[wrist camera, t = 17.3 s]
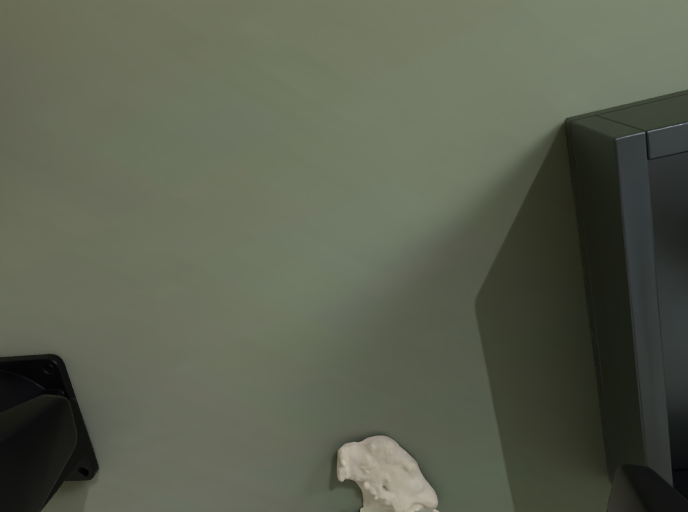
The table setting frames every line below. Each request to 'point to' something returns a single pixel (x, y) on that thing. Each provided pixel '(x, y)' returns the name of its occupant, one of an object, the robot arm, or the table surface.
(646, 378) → the tray
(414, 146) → the table surface
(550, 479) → the table surface
